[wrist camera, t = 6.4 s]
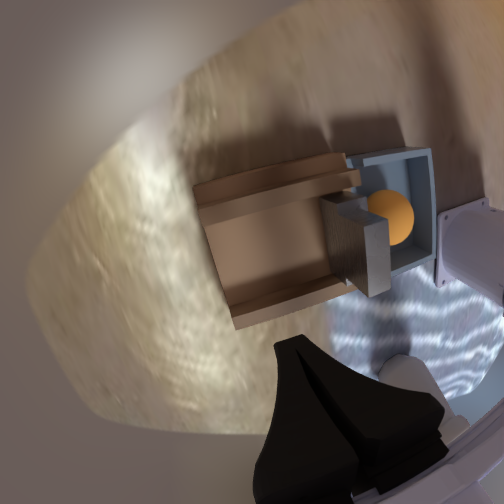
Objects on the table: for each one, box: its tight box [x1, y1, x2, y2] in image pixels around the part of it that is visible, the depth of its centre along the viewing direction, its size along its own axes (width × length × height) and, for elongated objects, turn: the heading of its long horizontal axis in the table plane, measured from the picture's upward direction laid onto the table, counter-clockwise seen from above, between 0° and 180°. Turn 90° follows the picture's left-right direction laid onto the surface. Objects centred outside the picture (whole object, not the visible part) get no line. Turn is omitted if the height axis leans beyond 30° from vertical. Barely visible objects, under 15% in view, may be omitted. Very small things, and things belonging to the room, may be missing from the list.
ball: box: [367, 189, 414, 246], centre depth 19 cm, size 4×4×4 cm
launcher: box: [193, 152, 362, 330], centre depth 19 cm, size 10×10×4 cm
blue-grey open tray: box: [346, 147, 436, 277], centre depth 20 cm, size 7×9×3 cm
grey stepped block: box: [319, 191, 391, 298], centre depth 16 cm, size 2×5×5 cm, turn 14°
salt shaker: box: [378, 354, 470, 445], centre depth 22 cm, size 6×6×13 cm
